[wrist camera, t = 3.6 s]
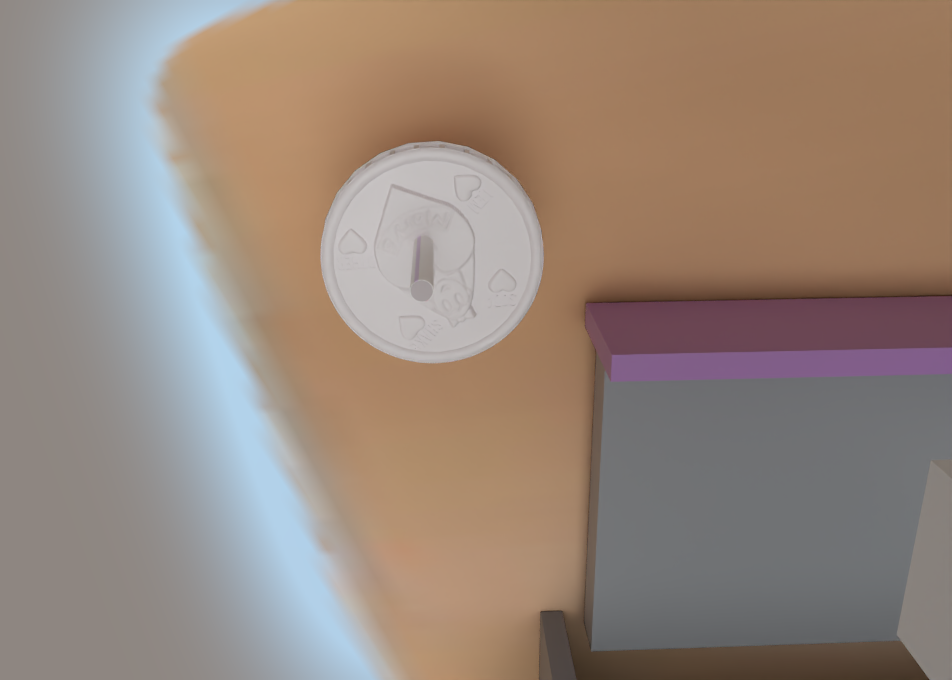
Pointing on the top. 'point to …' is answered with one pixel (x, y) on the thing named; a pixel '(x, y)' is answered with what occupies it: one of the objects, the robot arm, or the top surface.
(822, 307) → the sealer tray
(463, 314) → the smoothie
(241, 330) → the top surface
